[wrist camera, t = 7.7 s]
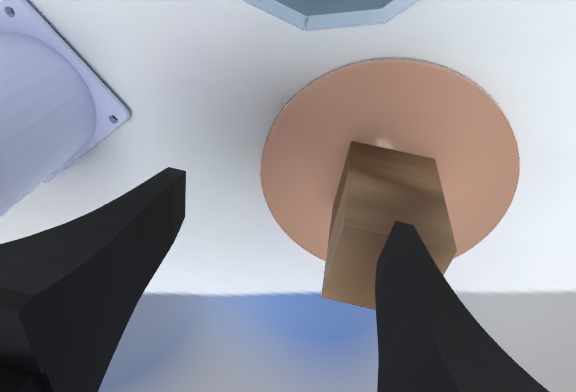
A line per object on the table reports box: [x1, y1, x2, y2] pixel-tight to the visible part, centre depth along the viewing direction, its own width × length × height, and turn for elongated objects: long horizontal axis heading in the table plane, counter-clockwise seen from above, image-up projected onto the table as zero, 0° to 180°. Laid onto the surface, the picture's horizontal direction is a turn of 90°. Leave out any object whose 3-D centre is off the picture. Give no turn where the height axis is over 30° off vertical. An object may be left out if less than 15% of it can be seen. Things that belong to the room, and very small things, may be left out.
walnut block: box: [321, 141, 457, 310], centre depth 20 cm, size 4×4×7 cm
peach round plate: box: [261, 58, 519, 261], centre depth 23 cm, size 14×14×1 cm
